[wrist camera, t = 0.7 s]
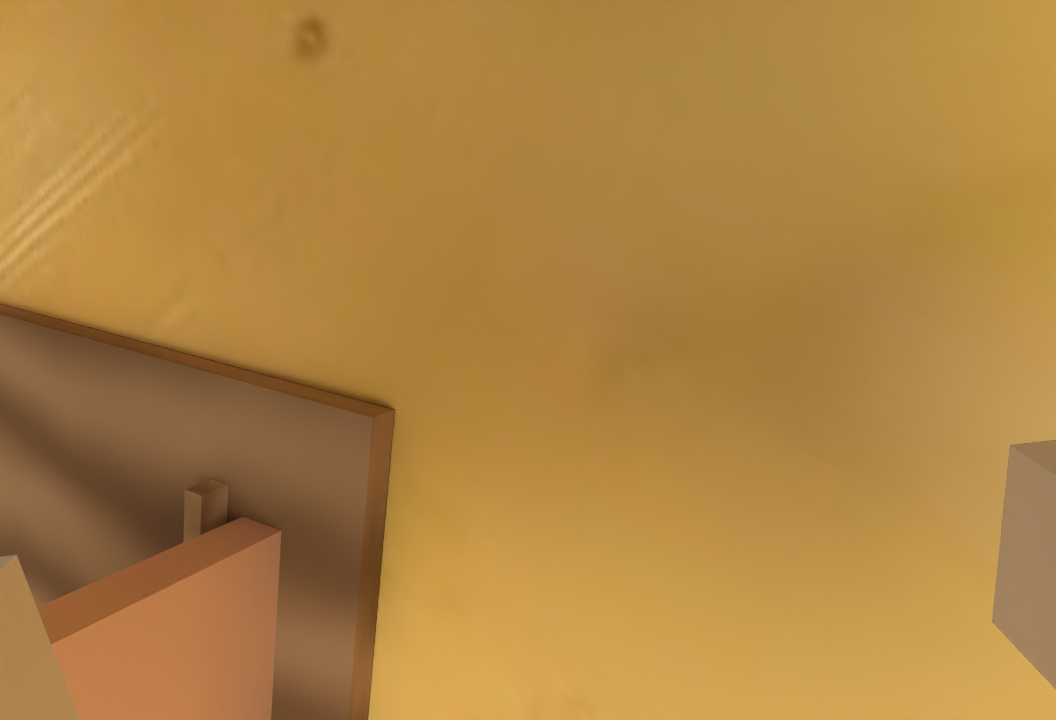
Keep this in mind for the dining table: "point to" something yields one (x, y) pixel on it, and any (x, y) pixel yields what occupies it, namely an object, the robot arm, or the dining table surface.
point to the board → (197, 486)
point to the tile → (175, 631)
